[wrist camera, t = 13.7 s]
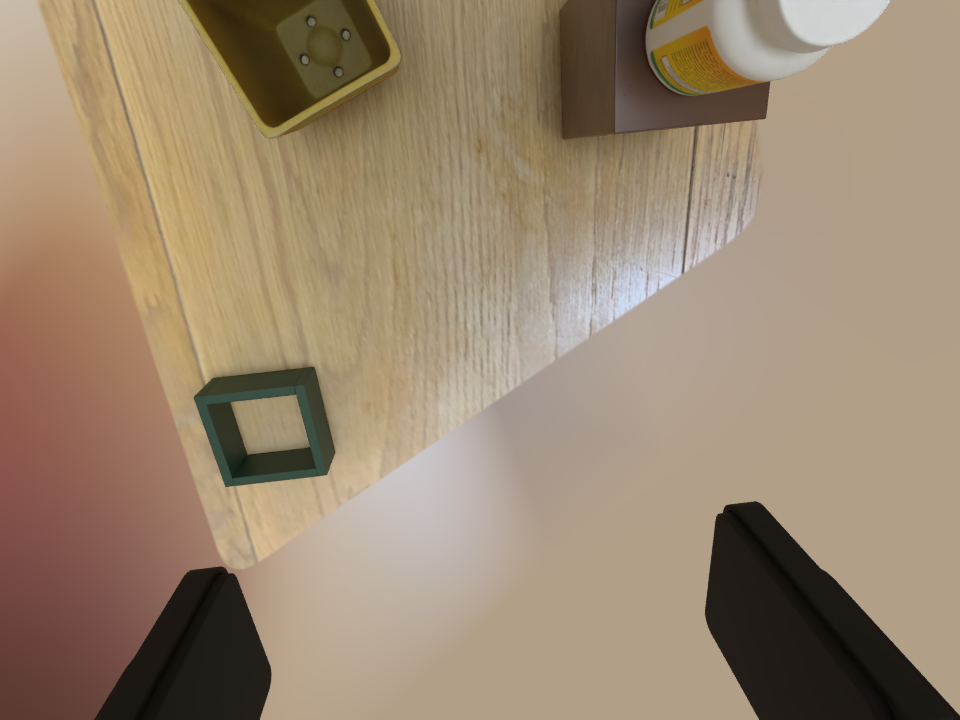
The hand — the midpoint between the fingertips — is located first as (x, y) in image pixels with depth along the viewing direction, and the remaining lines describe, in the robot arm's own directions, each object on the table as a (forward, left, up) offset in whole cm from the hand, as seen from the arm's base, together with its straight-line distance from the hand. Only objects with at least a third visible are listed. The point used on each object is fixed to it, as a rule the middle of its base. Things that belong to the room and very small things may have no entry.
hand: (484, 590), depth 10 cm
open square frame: (+12, -17, -32) cm, 38 cm away
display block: (-12, +13, -32) cm, 37 cm away
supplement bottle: (-12, +13, -20) cm, 27 cm away
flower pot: (-15, -7, -32) cm, 36 cm away
